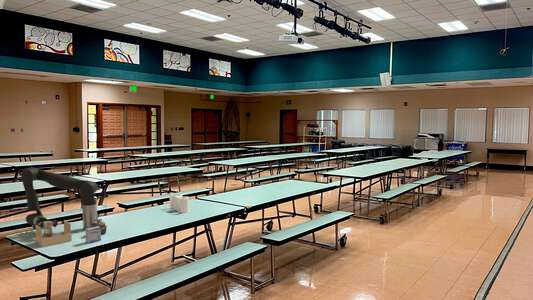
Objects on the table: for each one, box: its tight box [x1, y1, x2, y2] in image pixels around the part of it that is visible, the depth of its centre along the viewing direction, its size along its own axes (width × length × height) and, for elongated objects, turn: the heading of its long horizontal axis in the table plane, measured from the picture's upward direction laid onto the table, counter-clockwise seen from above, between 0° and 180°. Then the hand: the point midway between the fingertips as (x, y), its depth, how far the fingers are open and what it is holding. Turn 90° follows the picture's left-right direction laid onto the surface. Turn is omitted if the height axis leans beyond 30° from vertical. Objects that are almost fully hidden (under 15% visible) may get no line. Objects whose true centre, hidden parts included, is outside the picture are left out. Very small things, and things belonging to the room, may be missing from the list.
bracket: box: [169, 193, 190, 214], centre depth 336 cm, size 25×10×12 cm, turn 34°
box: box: [43, 220, 53, 238], centre depth 258 cm, size 4×5×10 cm
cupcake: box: [91, 218, 108, 236], centre depth 265 cm, size 10×10×10 cm
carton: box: [31, 219, 73, 248], centre depth 253 cm, size 17×25×11 cm
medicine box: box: [84, 226, 102, 244], centre depth 249 cm, size 8×4×9 cm, turn 138°
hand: (48, 226), depth 257 cm, fingers open, 8 cm apart
